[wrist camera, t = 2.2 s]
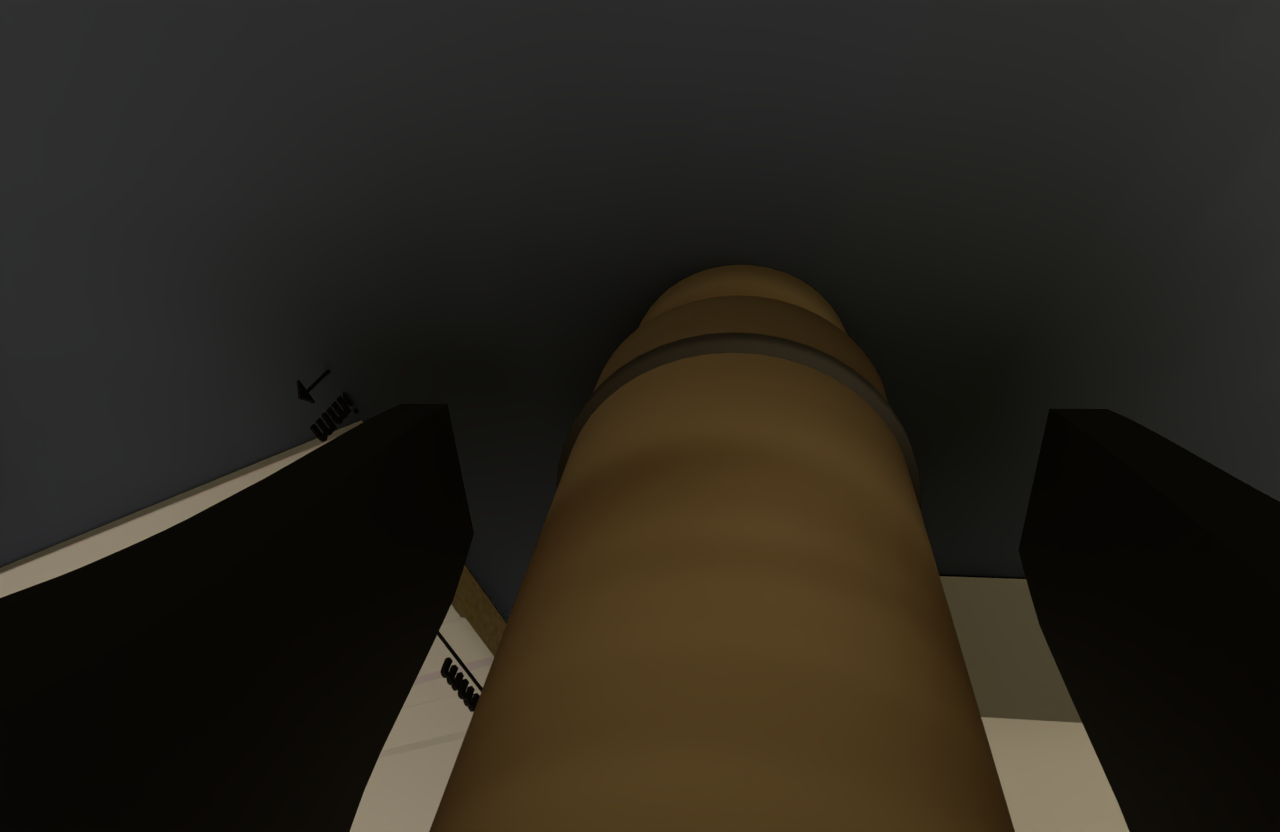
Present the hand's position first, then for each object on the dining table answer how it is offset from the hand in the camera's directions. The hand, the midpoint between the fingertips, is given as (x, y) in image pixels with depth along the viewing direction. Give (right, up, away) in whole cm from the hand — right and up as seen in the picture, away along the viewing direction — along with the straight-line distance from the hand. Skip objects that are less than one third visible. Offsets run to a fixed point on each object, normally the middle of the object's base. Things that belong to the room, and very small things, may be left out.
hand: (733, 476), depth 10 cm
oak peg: (0, +2, +3) cm, 3 cm away
